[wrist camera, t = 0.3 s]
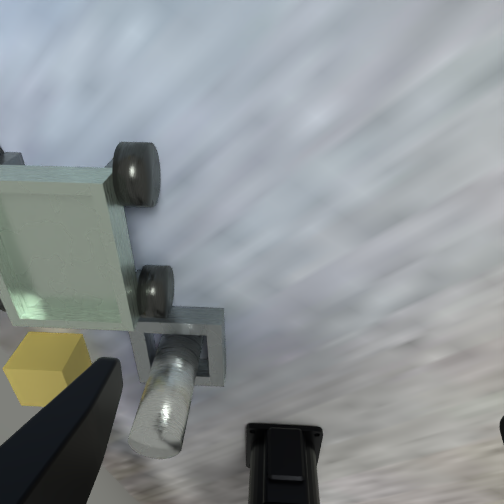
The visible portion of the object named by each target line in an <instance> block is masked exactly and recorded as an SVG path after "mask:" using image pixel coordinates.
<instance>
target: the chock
mask: <svg viewBox="0 0 504 504" xmlns="http://www.w3.org/2000/svg"><path fill="white" fill-rule="evenodd" d="M91 365H92V363H91V360H90V356H89V353H88V350H87V347H86V344H85V341H84V337H83V334H71V333H48V332H28V334H27V335H26V336H25V338H24V339H23V341H22V342H21V343H20V345H19V346H18V348H17V349H16V350H15V352H14V353H13V355H12V356H11V357H10V359H9V360H8V362H7V363H6V364H5V366H4V367H3V370H4V372H5V374H6V376H7V378H8V380H9V382H10V384H11V386H12V388H13V390H14V392H15V394H16V396H17V398H18V400H19V402H20V404H21V405H22V406H42V407H45V406H46V405H47V404H48V403H49V402H50V401H52V400H53V399H54V398H55V397H56V396H57V395H58V394H59V393H60V392H62V391H63V390H64V389H65V388H66V387H67V386H68V385H69V384H71V383H72V382H73V381H74V380H75V379H76V378H77V377H78V376H80V375H81V374H82V373H83V372H84V371H85V370H86V369H87V368H89V367H90V366H91Z"/></svg>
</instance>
